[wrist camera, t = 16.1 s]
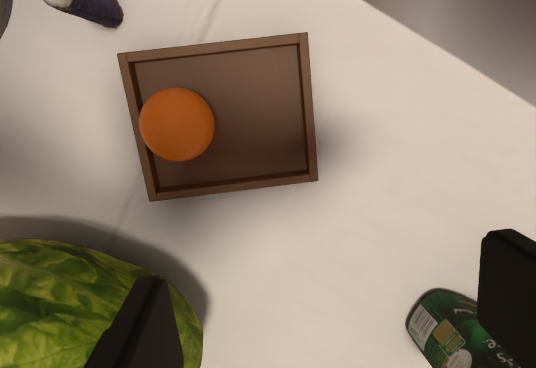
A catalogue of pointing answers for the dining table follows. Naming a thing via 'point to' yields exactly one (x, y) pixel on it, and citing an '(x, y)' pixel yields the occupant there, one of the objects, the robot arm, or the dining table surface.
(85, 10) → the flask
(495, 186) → the dining table surface
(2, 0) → the bowl
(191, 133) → the mandarin
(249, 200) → the dining table surface
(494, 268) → the robot arm
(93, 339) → the lettuce
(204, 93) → the tray
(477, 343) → the coffee jar
